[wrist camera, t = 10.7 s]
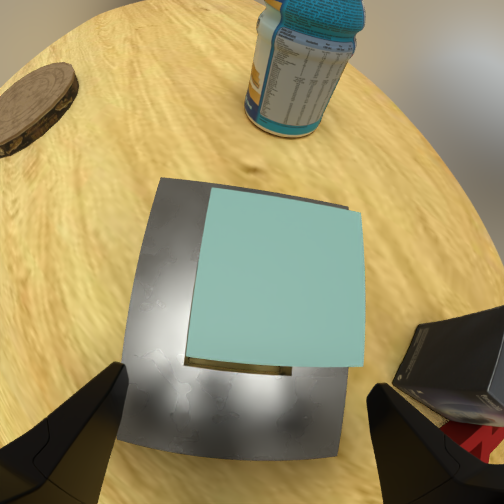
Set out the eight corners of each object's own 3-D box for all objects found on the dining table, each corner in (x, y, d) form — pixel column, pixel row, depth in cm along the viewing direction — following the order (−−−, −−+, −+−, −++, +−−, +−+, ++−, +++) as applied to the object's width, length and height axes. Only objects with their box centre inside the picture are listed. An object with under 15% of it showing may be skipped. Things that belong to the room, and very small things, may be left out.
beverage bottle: (282, 153, 25) (358, -52, 6) (225, 105, 26) (251, -74, 7) (334, 124, 27) (409, -27, 9) (281, 83, 29) (324, -60, 10)
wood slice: (102, 82, 26) (97, 65, 23) (15, 174, 20) (2, 159, 18) (44, 74, 27) (39, 61, 24) (-24, 145, 21) (-33, 134, 18)
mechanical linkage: (403, 500, 14) (433, 516, 10) (404, 448, 17) (439, 460, 12) (493, 430, 17) (521, 431, 13) (494, 382, 20) (524, 380, 15)
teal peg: (267, 356, 18) (363, 366, 6) (204, 350, 18) (185, 356, 6) (272, 296, 20) (360, 212, 8) (211, 289, 19) (211, 187, 7)
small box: (387, 387, 18) (486, 394, 9) (417, 321, 21) (510, 295, 11) (448, 424, 18) (529, 431, 8) (471, 368, 20) (549, 357, 10)
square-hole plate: (320, 444, 16) (337, 456, 14) (129, 427, 15) (116, 439, 12) (333, 223, 23) (348, 206, 20) (166, 198, 21) (160, 177, 19)
